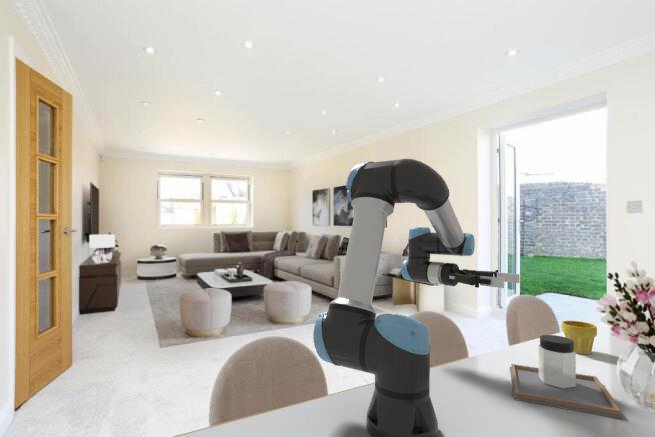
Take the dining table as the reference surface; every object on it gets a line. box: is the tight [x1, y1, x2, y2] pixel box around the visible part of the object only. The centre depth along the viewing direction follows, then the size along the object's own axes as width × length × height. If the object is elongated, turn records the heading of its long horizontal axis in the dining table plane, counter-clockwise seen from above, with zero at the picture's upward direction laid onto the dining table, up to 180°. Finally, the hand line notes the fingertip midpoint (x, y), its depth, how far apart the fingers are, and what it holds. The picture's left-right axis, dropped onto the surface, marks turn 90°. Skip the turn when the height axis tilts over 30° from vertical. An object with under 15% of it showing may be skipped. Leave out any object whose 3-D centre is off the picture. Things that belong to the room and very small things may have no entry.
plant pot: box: [561, 320, 598, 355], centre depth 129 cm, size 10×10×10 cm
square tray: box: [509, 363, 624, 420], centre depth 98 cm, size 22×22×2 cm
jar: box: [538, 334, 577, 389], centre depth 102 cm, size 9×8×12 cm
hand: (511, 280), depth 107 cm, fingers open, 13 cm apart
